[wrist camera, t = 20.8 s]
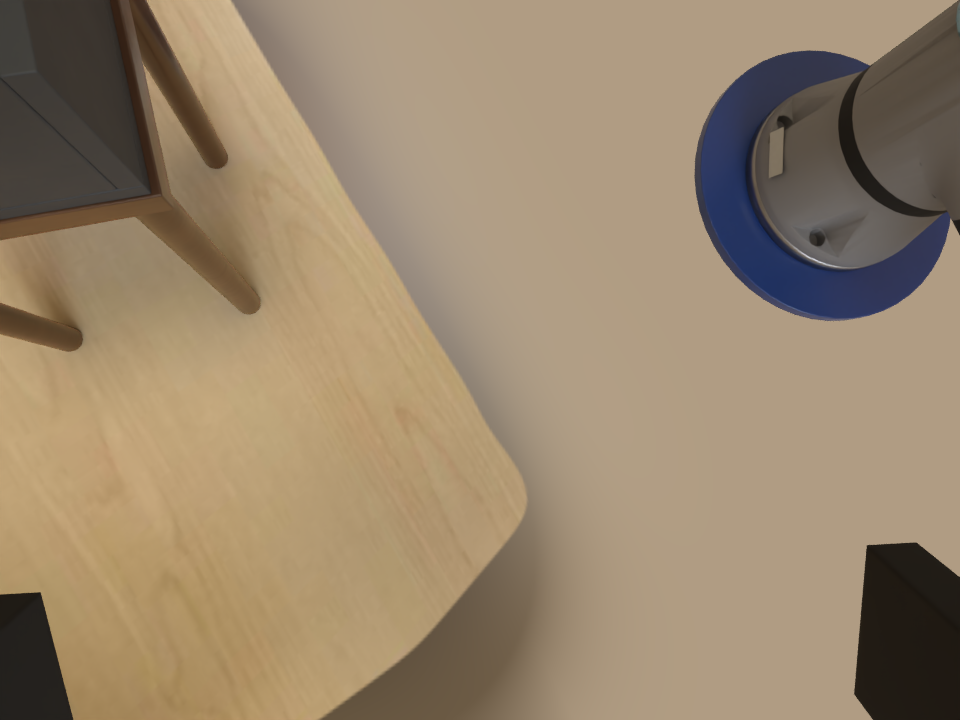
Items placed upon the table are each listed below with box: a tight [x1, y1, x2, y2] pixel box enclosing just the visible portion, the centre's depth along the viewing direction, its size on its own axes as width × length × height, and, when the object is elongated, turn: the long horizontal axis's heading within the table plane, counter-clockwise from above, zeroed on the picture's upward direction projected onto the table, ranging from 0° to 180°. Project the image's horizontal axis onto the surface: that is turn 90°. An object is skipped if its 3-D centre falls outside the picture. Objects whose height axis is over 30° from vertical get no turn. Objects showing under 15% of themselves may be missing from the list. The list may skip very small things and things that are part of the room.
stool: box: [0, 0, 261, 352], centre depth 33 cm, size 14×13×24 cm
